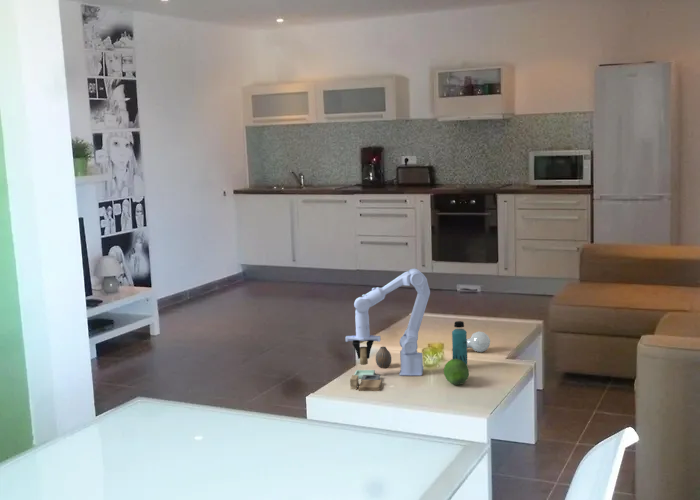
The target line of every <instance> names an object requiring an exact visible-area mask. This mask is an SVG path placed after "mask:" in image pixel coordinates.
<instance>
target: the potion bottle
mask: <svg viewBox="0 0 700 500" xmlns="http://www.w3.org/2000/svg"><path fill="white" fill-rule="evenodd" d="M490 344H491V339H490V337H489V335H488V334H487V333H486V332H484V331H475V332H473V333H472V334H471V337H470V338H468V337H467V349H472V350H473V351H474V352H476V351H477V353H480V352H481V353H483V352H485V351H487V350H488V349H489V347H490V346H491V345H490Z"/></svg>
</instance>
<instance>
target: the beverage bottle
mask: <svg viewBox="0 0 700 500" xmlns="http://www.w3.org/2000/svg"><path fill="white" fill-rule="evenodd" d="M453 326H454V328H455V329H453V330H452V332H451V340H452V350H451V351H452V352H451V353H452V356H451V357H452V359H460V360H462V361H464V362H465V363H466V365H467V364H468V348H467V339H468V337H467V331H466V330H465V328H464V327H465V323H464V321H462V320H457V321H454V325H453ZM467 366H468V365H467Z"/></svg>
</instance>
